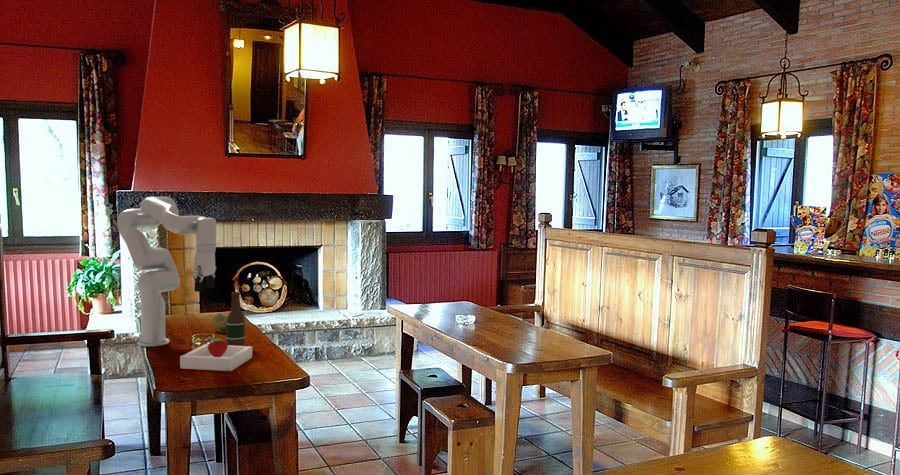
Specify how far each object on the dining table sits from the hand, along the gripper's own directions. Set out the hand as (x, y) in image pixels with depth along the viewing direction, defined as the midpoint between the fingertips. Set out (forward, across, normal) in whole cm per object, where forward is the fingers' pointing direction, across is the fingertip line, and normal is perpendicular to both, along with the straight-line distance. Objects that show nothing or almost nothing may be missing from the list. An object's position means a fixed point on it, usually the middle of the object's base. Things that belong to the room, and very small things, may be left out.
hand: (204, 289), depth 266 cm
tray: (+26, +12, +12) cm, 31 cm away
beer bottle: (+27, -12, +9) cm, 31 cm away
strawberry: (+25, +12, +12) cm, 30 cm away
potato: (+28, -39, -10) cm, 49 cm away
